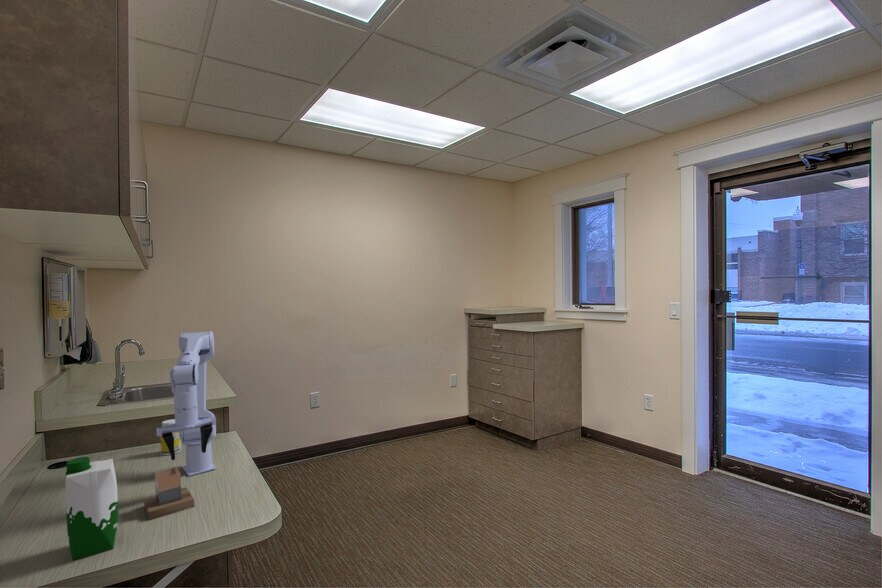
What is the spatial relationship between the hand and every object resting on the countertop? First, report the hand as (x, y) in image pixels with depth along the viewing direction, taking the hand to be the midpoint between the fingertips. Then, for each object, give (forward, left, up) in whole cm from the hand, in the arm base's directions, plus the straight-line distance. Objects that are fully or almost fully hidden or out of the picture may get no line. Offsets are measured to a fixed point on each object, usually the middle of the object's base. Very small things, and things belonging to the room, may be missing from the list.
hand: (188, 455), depth 129 cm
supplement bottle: (-43, +2, -11) cm, 44 cm away
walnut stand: (+6, -6, -10) cm, 13 cm away
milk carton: (+17, -22, -11) cm, 30 cm away
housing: (+6, -6, -8) cm, 12 cm away
